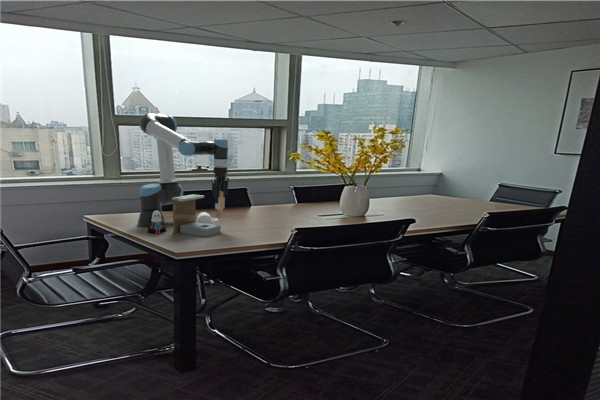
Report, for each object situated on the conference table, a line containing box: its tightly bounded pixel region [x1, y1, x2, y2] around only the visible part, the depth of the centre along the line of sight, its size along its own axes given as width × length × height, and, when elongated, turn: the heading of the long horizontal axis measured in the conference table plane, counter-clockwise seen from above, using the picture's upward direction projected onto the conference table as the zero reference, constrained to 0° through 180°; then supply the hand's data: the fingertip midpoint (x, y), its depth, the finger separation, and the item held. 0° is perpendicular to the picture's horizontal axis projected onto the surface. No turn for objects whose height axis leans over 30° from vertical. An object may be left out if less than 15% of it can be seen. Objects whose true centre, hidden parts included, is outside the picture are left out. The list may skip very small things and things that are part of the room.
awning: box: [172, 193, 205, 234], centre depth 244 cm, size 8×17×19 cm, turn 153°
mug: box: [196, 211, 219, 224], centre depth 256 cm, size 12×10×8 cm
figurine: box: [147, 210, 167, 235], centre depth 239 cm, size 10×11×12 cm
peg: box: [215, 191, 224, 218], centre depth 246 cm, size 3×3×14 cm
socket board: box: [179, 221, 221, 237], centre depth 241 cm, size 18×12×4 cm, turn 63°
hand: (219, 208), depth 246 cm, fingers closed on peg, 3 cm apart
